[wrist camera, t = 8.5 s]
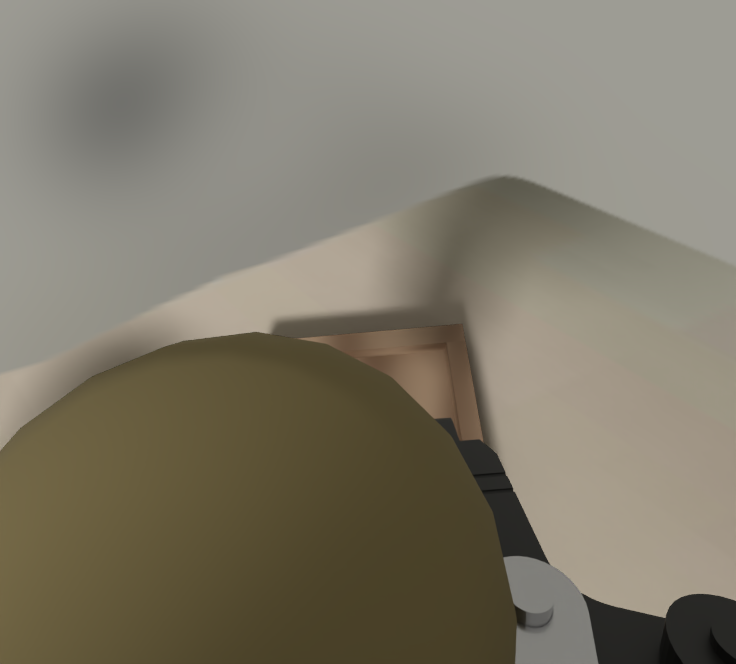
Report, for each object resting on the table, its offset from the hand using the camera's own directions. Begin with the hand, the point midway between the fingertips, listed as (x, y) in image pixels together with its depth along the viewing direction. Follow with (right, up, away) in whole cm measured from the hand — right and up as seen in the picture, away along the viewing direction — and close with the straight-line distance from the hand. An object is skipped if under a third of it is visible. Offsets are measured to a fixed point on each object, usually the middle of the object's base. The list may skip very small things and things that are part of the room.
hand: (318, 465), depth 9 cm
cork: (0, -4, +3) cm, 5 cm away
